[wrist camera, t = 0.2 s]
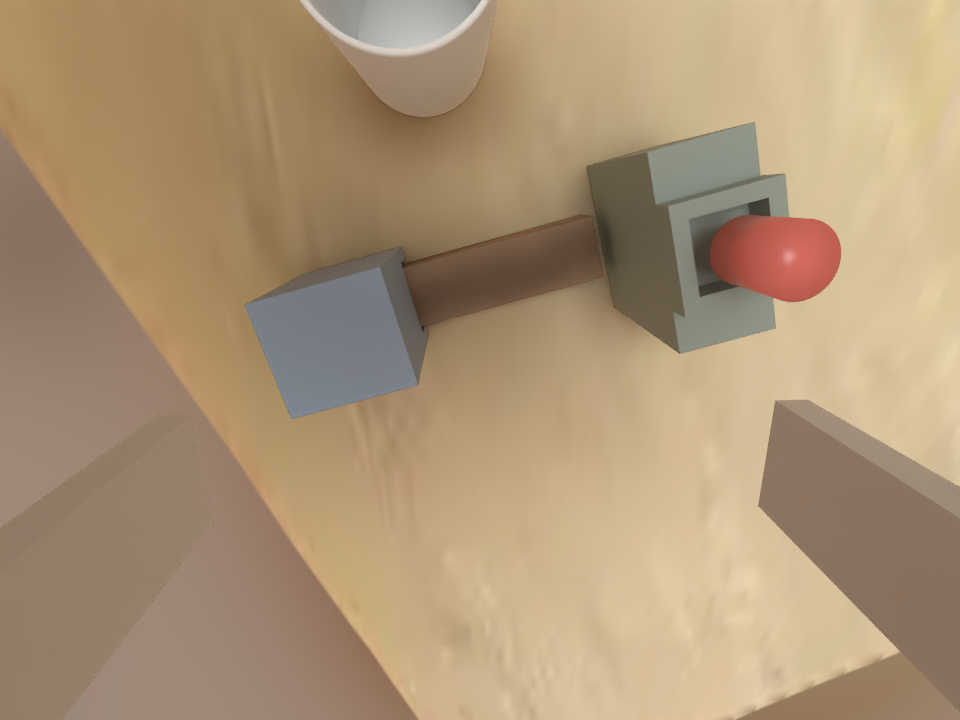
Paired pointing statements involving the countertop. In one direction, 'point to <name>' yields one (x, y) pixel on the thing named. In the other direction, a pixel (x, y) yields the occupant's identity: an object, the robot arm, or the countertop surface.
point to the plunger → (776, 255)
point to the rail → (504, 269)
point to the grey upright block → (683, 234)
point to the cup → (411, 47)
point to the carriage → (341, 334)
